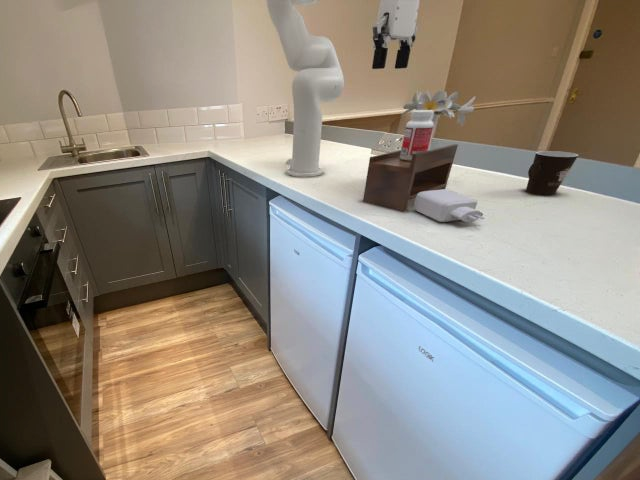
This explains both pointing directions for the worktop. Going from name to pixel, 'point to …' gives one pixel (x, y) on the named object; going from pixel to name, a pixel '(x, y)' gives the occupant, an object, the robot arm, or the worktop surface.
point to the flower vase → (439, 107)
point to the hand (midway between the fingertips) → (389, 68)
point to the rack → (407, 176)
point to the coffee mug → (549, 171)
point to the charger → (447, 206)
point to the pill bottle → (417, 134)
